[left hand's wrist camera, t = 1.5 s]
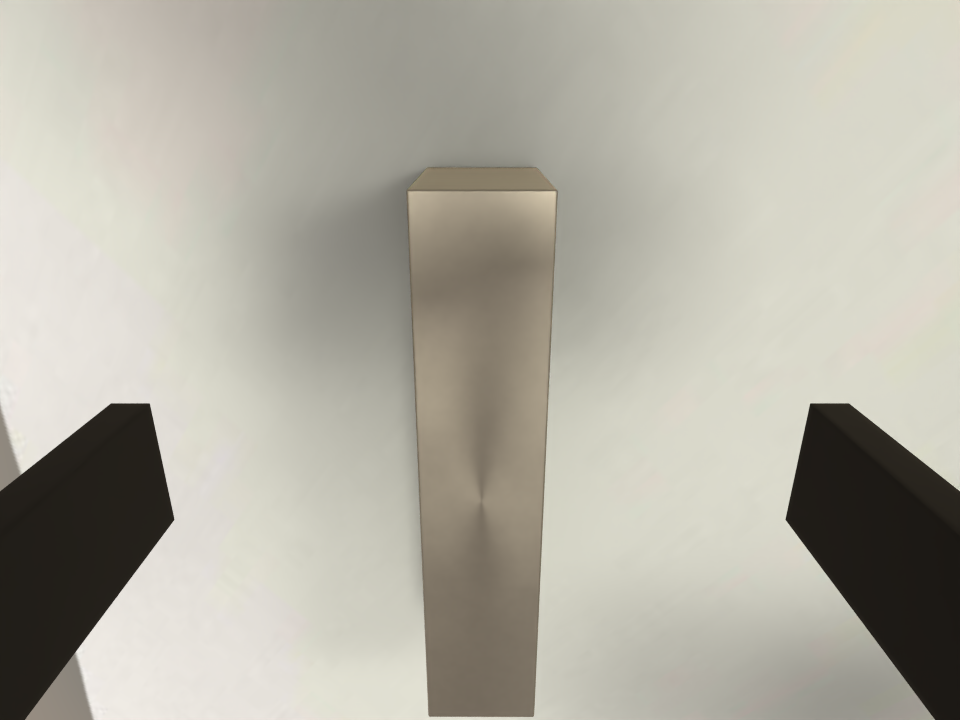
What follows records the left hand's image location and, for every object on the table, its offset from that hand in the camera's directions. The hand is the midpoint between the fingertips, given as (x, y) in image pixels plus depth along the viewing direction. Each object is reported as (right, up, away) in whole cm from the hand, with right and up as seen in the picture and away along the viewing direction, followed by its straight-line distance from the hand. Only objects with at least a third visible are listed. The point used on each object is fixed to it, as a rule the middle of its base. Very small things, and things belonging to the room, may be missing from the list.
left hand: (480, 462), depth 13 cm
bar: (0, -1, +21) cm, 21 cm away
